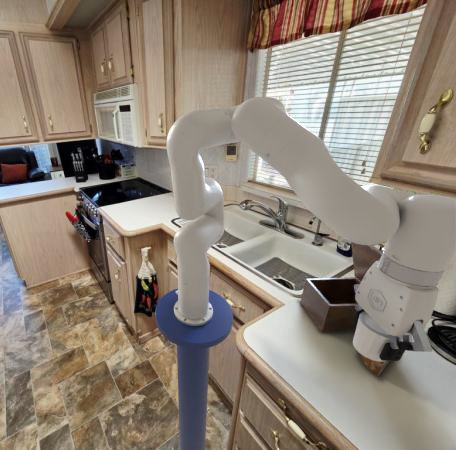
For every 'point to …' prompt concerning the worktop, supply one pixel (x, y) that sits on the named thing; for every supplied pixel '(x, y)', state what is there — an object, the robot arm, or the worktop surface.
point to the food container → (374, 365)
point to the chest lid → (365, 258)
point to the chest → (331, 302)
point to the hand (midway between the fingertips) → (373, 341)
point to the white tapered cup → (370, 337)
